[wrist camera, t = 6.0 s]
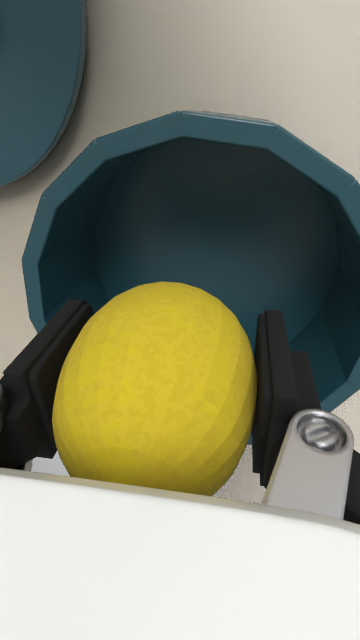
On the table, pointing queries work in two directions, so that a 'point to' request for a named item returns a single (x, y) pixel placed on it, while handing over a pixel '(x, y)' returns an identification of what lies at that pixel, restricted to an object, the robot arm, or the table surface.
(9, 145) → the lid
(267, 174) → the pot
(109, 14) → the table surface
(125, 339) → the lemon
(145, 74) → the table surface
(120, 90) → the table surface
